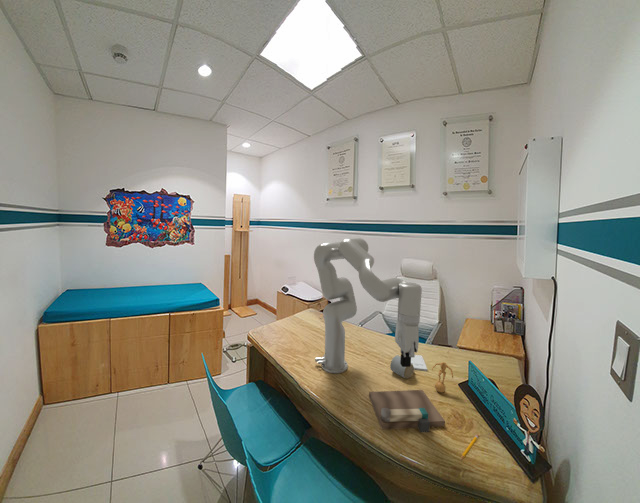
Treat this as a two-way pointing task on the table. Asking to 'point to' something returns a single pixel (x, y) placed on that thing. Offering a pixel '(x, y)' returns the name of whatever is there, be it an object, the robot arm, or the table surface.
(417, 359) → the external hard drive
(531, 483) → the table surface
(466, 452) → the pencil
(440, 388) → the figurine
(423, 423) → the leg stop
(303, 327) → the table surface
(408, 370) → the grey cylinder
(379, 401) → the brown wooden board
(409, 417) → the stool leg
